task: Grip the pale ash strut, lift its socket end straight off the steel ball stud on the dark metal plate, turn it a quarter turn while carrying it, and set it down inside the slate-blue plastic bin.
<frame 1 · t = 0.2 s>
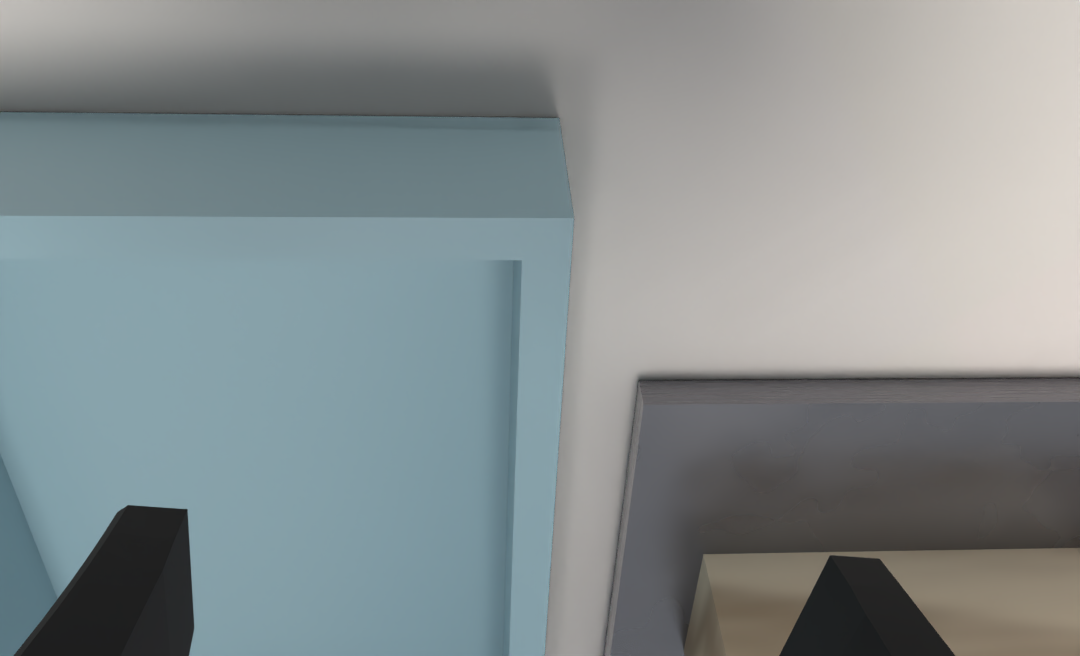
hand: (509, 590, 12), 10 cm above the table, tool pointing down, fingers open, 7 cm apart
bin: (274, 508, 25), on the table
stud plate: (925, 575, 28), on the table
strut: (936, 599, 27), point 1 cm above the table, touching stud plate
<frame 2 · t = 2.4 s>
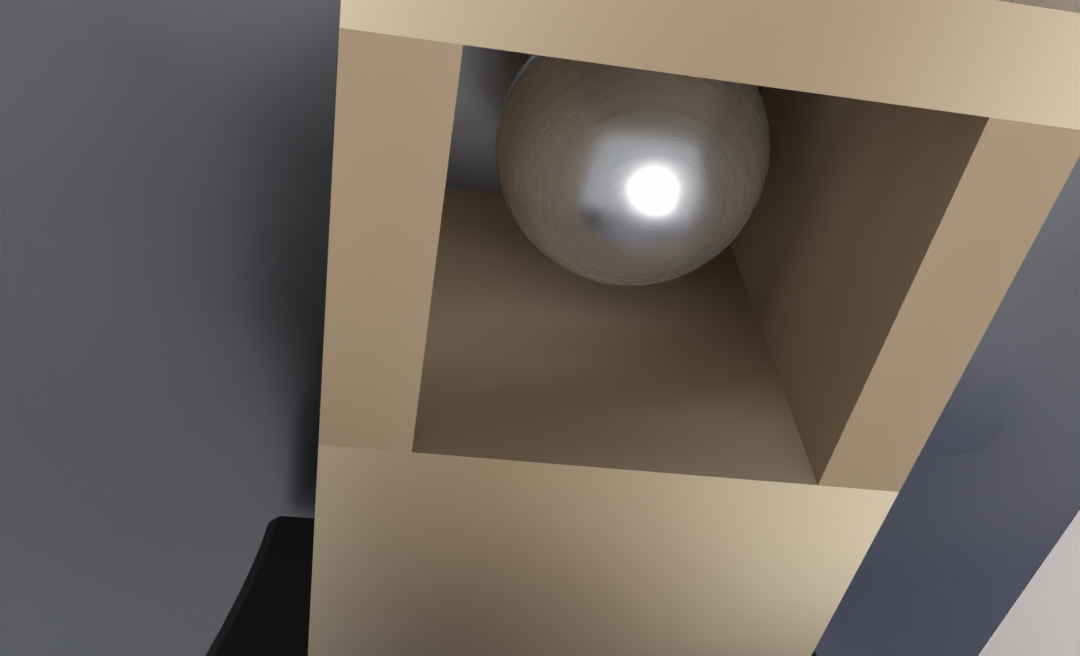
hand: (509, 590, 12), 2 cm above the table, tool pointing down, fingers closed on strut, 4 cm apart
stud plate: (523, 393, 12), on the table
strut: (526, 440, 12), point 1 cm above the table, touching gripper, stud plate
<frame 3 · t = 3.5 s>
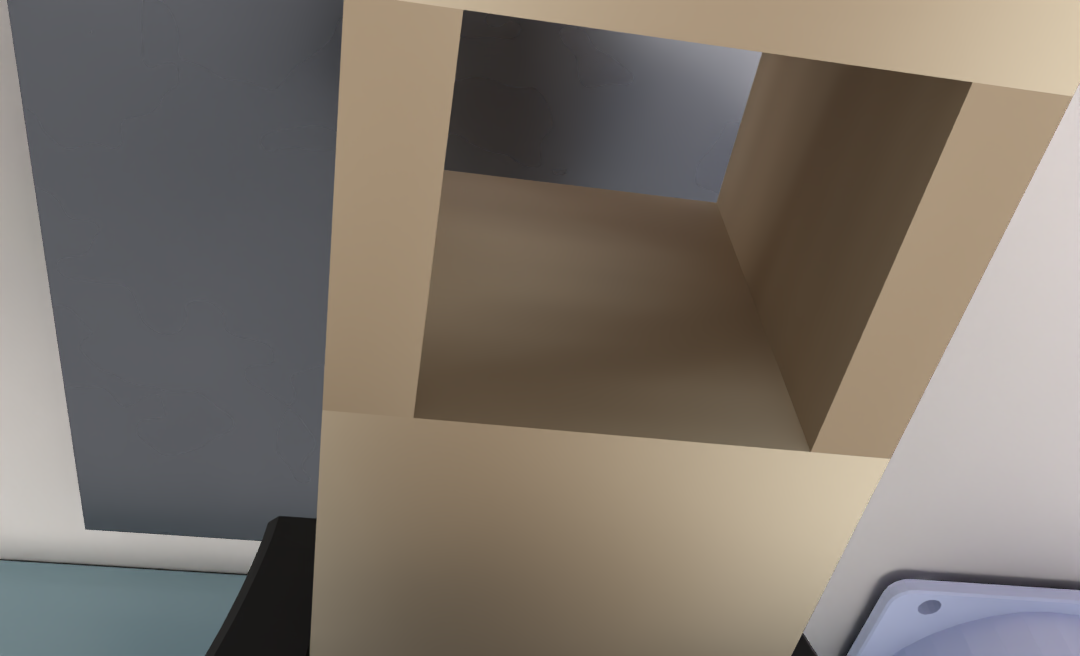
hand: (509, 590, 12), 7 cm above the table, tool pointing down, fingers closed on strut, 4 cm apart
stud plate: (507, 165, 16), on the table
strut: (525, 424, 12), point 6 cm above the table, touching gripper
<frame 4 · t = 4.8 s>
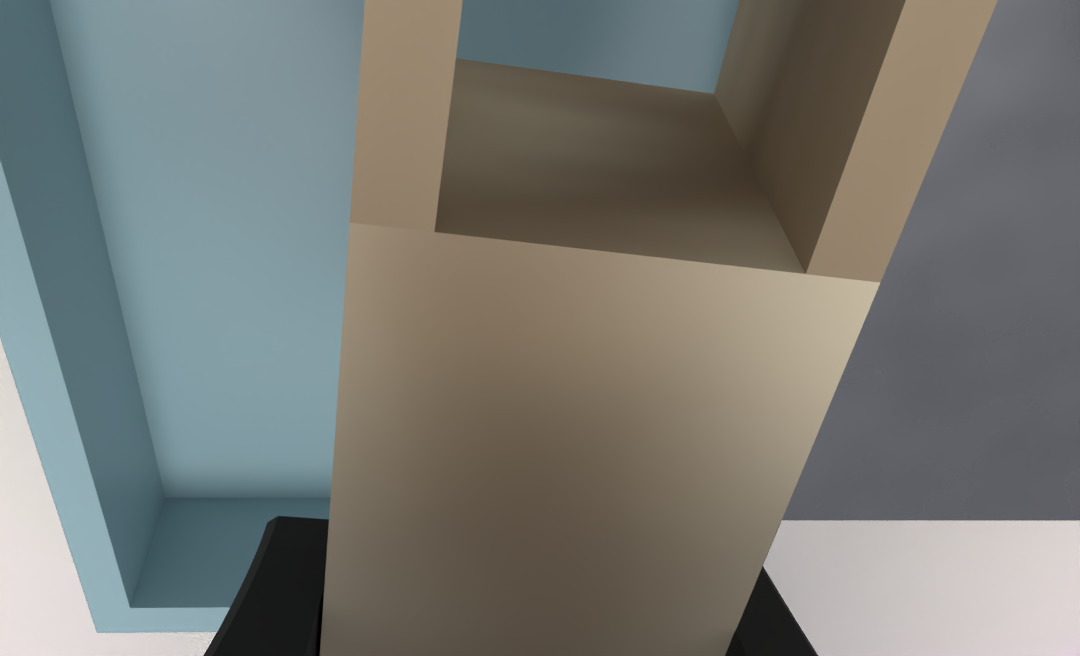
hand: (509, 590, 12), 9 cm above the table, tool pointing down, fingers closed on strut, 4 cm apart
bin: (410, 97, 18), on the table
strut: (532, 324, 12), point 7 cm above the table, touching gripper
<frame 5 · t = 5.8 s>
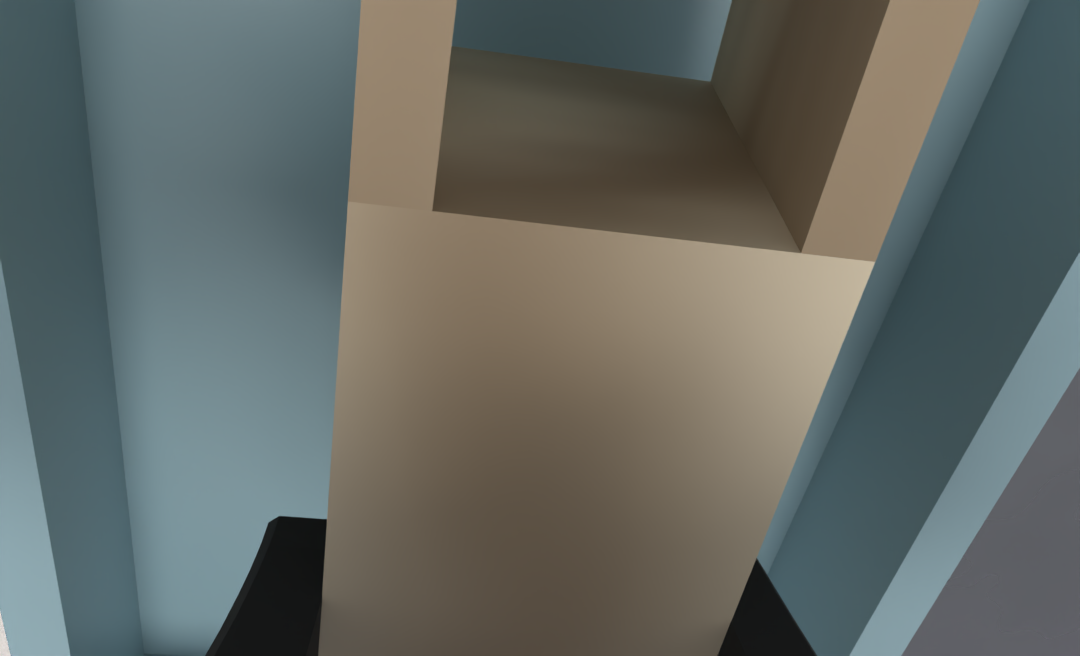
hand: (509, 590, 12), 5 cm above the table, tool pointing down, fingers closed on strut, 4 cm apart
bin: (514, 243, 15), on the table
strut: (530, 314, 12), point 3 cm above the table, touching gripper
when the fingers open (3 cm above the table, at t = 7.0 s): strut stays where it is, resting on bin.
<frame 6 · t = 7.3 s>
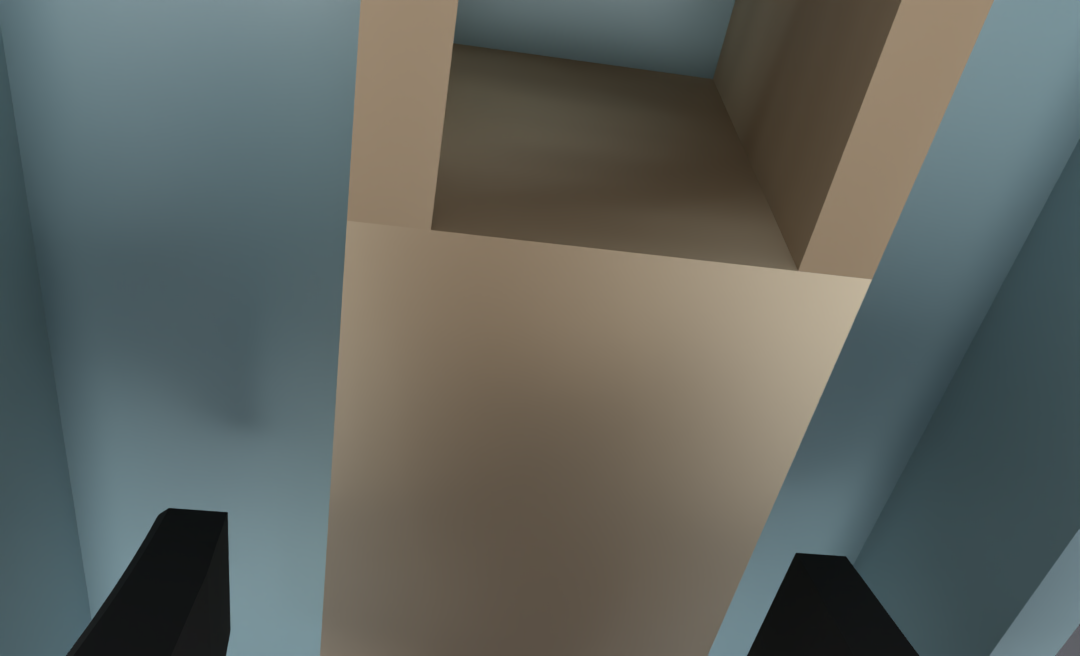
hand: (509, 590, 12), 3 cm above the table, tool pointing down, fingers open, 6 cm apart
bin: (520, 330, 13), on the table
strut: (531, 305, 12), resting on bin
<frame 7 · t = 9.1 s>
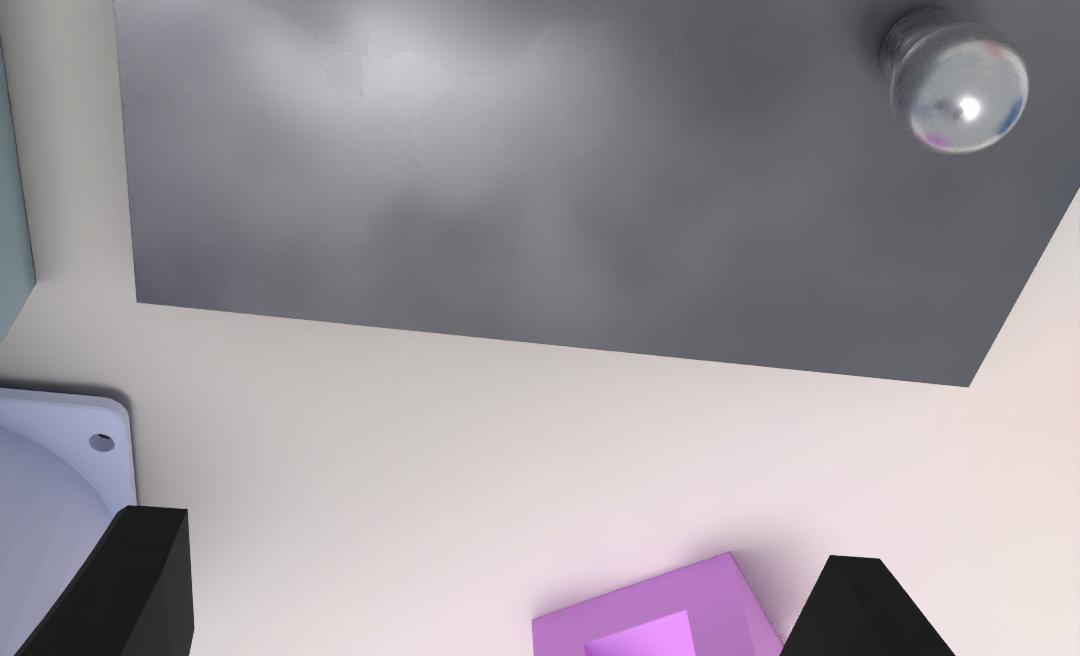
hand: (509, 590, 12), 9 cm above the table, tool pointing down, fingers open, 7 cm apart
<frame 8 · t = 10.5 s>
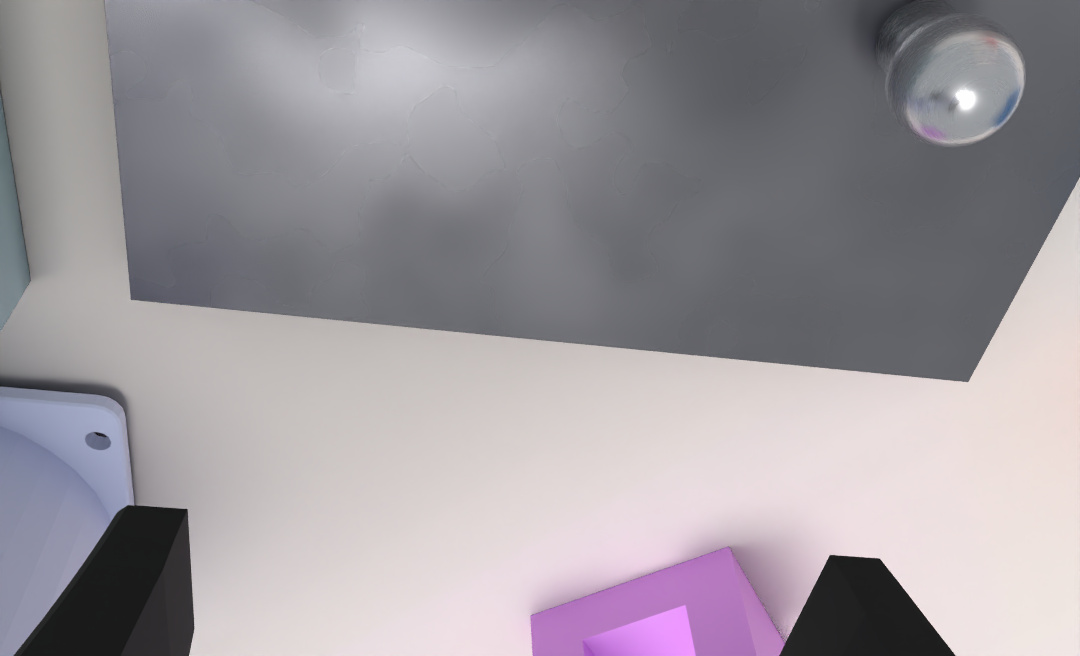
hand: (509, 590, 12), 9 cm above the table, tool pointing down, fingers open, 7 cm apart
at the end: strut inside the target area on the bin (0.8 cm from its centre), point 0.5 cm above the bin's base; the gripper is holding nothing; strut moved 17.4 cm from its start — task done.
